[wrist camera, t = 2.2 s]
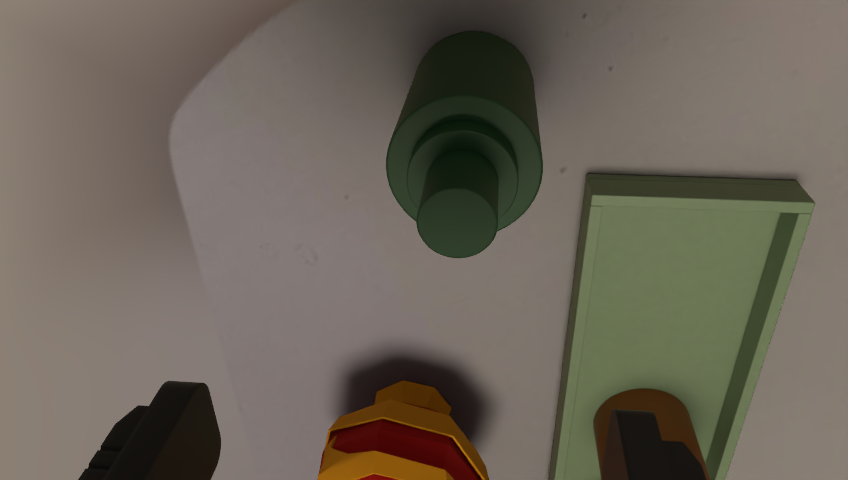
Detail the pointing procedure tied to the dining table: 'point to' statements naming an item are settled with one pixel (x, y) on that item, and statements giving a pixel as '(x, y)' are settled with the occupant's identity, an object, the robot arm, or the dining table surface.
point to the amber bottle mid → (668, 415)
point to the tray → (675, 303)
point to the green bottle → (467, 143)
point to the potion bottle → (400, 440)
